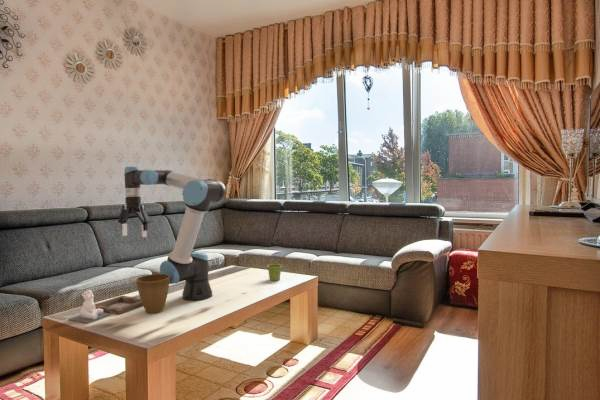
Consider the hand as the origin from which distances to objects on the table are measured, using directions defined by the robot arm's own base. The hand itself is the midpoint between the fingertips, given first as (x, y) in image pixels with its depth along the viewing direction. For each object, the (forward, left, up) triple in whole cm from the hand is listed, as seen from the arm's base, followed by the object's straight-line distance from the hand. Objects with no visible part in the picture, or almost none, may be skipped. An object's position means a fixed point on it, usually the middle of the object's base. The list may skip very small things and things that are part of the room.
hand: (134, 236), depth 223 cm
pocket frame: (-8, +18, -32) cm, 37 cm away
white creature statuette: (-9, +36, -31) cm, 48 cm away
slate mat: (-8, +35, -32) cm, 48 cm away
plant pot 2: (-53, -57, -32) cm, 84 cm away
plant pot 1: (-29, +18, -32) cm, 47 cm away
